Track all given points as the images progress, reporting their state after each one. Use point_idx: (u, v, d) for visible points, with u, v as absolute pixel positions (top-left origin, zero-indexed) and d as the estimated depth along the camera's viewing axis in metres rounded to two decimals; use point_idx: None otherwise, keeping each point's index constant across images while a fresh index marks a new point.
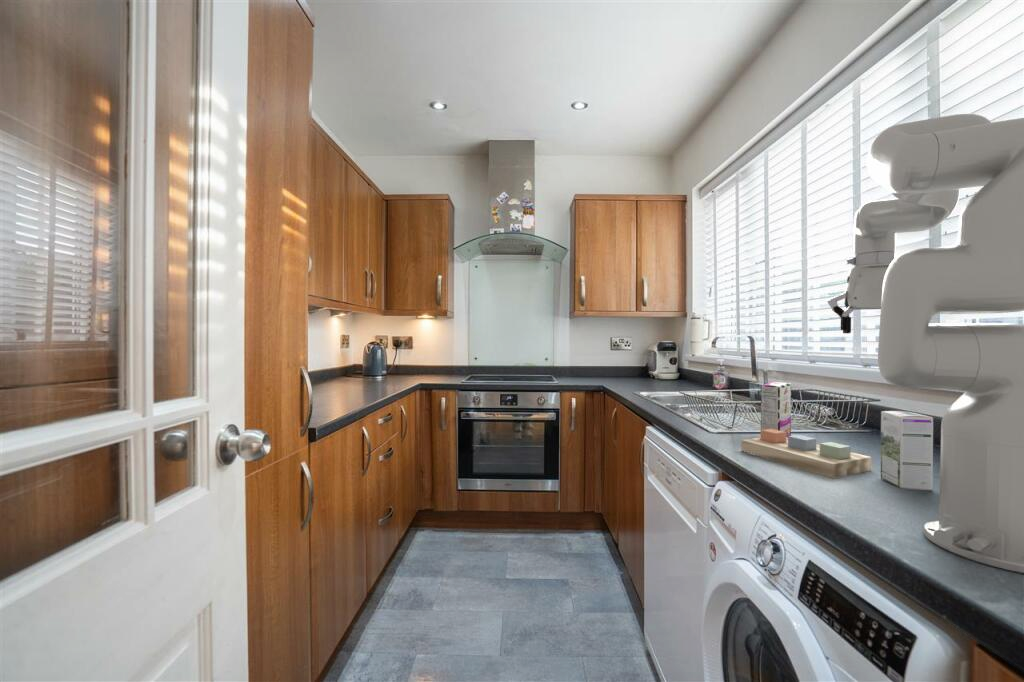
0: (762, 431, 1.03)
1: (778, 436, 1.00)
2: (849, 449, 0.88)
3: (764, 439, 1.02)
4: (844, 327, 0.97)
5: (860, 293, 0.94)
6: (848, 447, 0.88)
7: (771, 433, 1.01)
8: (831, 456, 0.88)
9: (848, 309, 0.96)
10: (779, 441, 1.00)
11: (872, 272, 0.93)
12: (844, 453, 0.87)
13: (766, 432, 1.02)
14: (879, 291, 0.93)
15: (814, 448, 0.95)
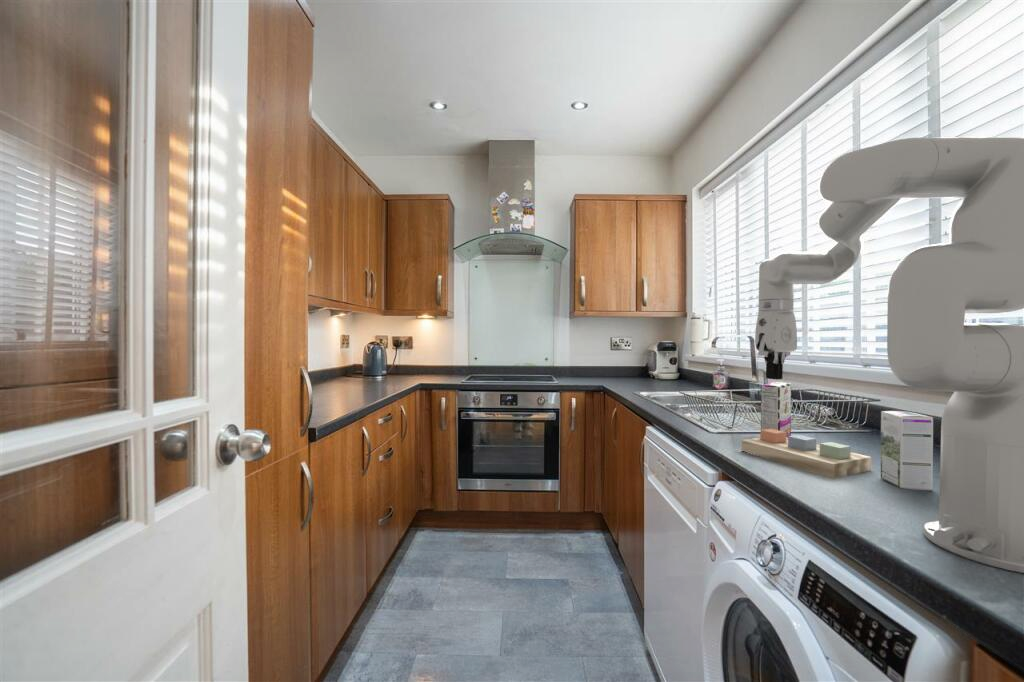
0: (762, 431, 1.03)
1: (778, 436, 1.00)
2: (849, 449, 0.88)
3: (764, 439, 1.02)
4: (774, 373, 1.01)
5: (777, 337, 0.98)
6: (848, 447, 0.88)
7: (771, 433, 1.01)
8: (831, 456, 0.88)
9: (775, 356, 1.00)
10: (779, 441, 1.00)
11: (783, 318, 0.99)
12: (844, 453, 0.87)
13: (766, 432, 1.02)
14: (786, 336, 1.00)
15: (814, 448, 0.95)
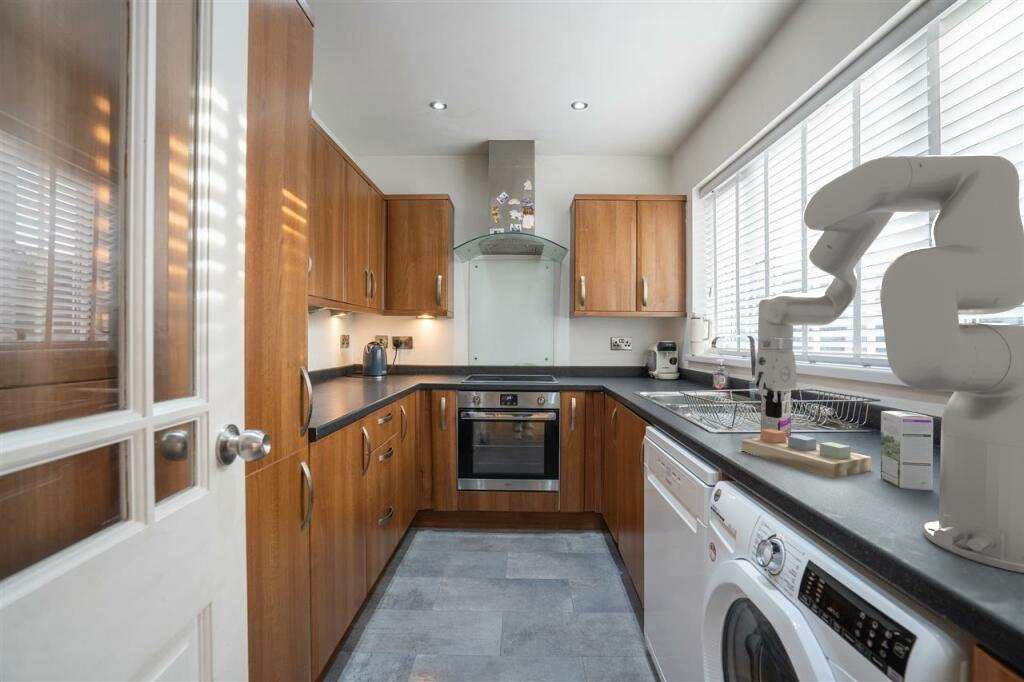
0: (762, 431, 1.03)
1: (778, 436, 1.00)
2: (849, 449, 0.88)
3: (764, 439, 1.02)
4: (773, 412, 1.01)
5: (776, 377, 0.98)
6: (848, 447, 0.88)
7: (771, 433, 1.01)
8: (831, 456, 0.88)
9: (774, 395, 1.00)
10: (779, 441, 1.00)
11: (782, 357, 0.99)
12: (844, 453, 0.87)
13: (766, 432, 1.02)
14: (786, 375, 1.00)
15: (814, 448, 0.95)
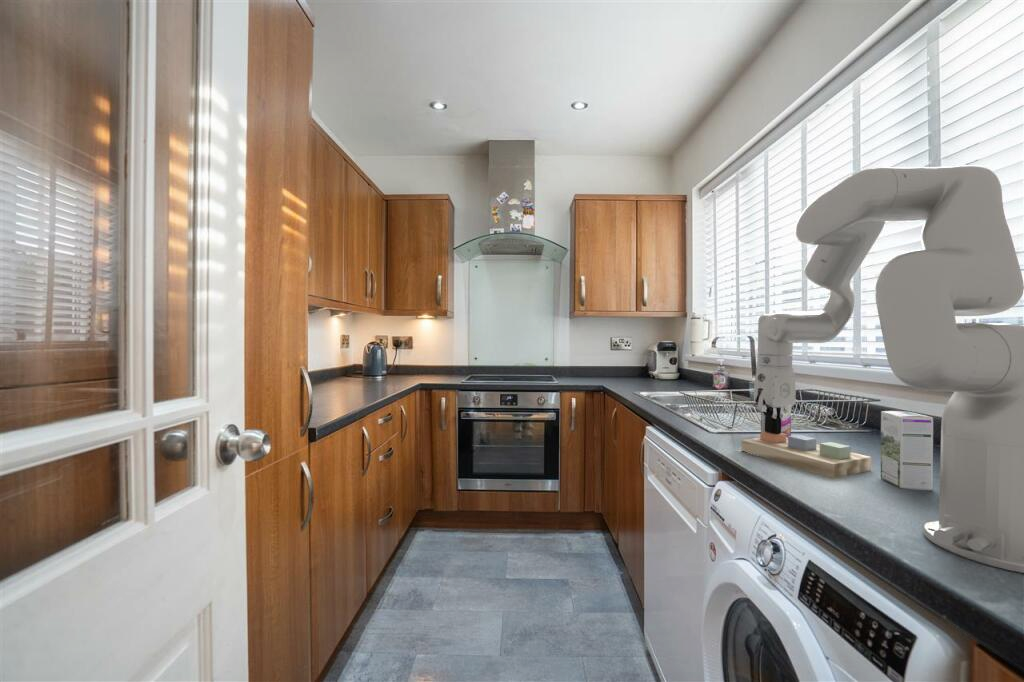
0: (762, 433, 1.03)
1: (778, 438, 1.00)
2: (849, 449, 0.88)
3: None
4: (773, 428, 1.01)
5: (776, 393, 0.99)
6: (848, 447, 0.88)
7: (771, 435, 1.01)
8: (831, 456, 0.88)
9: (774, 411, 1.00)
10: None
11: (782, 373, 0.99)
12: (844, 453, 0.87)
13: (766, 434, 1.02)
14: (785, 391, 1.00)
15: (814, 448, 0.95)
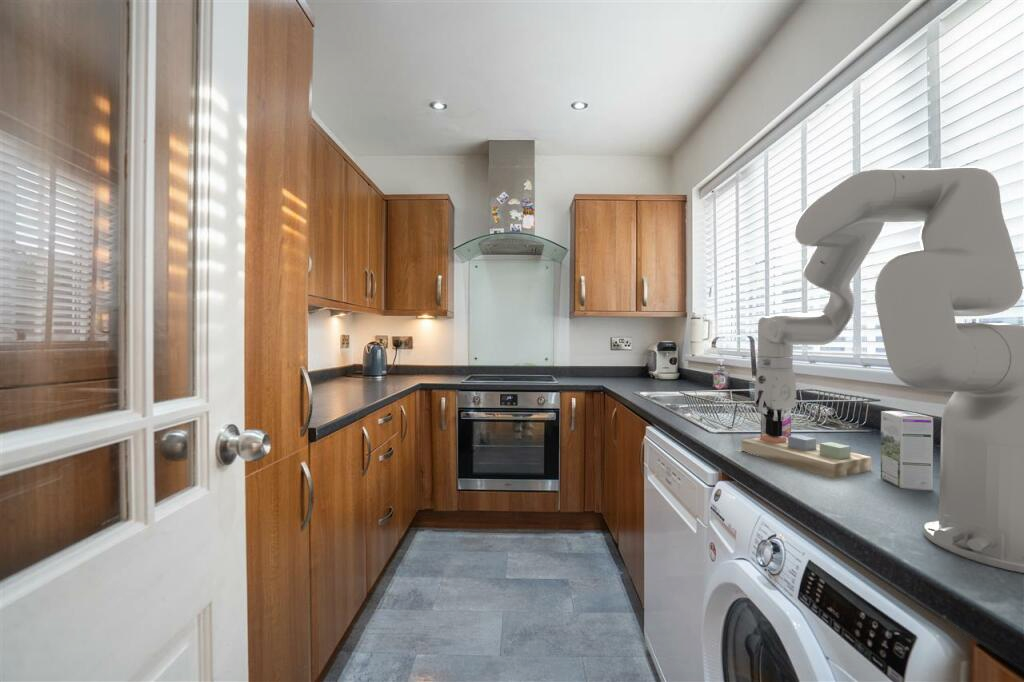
0: (762, 436, 1.03)
1: (778, 441, 1.00)
2: (849, 449, 0.88)
3: None
4: (773, 430, 1.01)
5: (776, 395, 0.98)
6: (848, 447, 0.88)
7: (771, 438, 1.01)
8: (831, 456, 0.88)
9: (774, 414, 1.00)
10: None
11: (782, 376, 0.99)
12: (844, 453, 0.87)
13: (766, 437, 1.02)
14: (786, 393, 1.00)
15: (814, 448, 0.95)
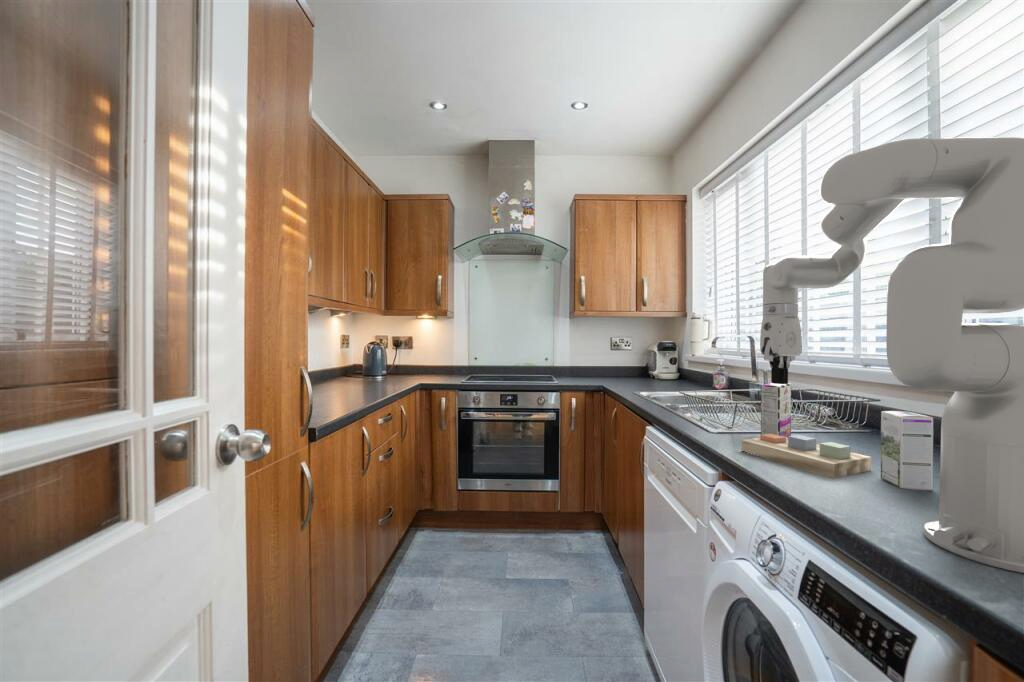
0: (762, 436, 1.03)
1: (778, 441, 1.00)
2: (849, 449, 0.88)
3: None
4: (779, 378, 1.00)
5: (782, 341, 0.98)
6: (848, 447, 0.88)
7: (771, 438, 1.01)
8: (831, 456, 0.88)
9: (780, 361, 1.00)
10: None
11: (788, 322, 0.99)
12: (844, 453, 0.87)
13: (766, 437, 1.02)
14: (791, 340, 0.99)
15: (814, 448, 0.95)
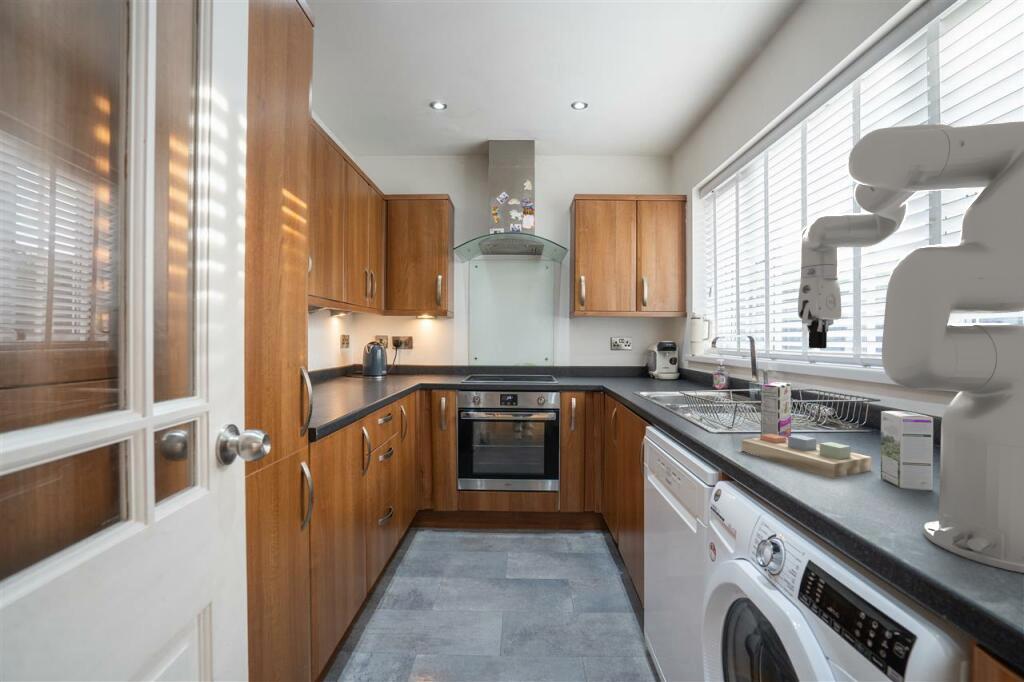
0: (762, 436, 1.03)
1: (778, 441, 1.00)
2: (849, 449, 0.88)
3: None
4: (818, 342, 0.98)
5: (822, 304, 0.95)
6: (848, 447, 0.88)
7: (771, 438, 1.01)
8: (831, 456, 0.88)
9: (819, 324, 0.97)
10: None
11: (828, 284, 0.96)
12: (844, 453, 0.87)
13: (766, 437, 1.02)
14: (831, 303, 0.97)
15: (814, 448, 0.95)
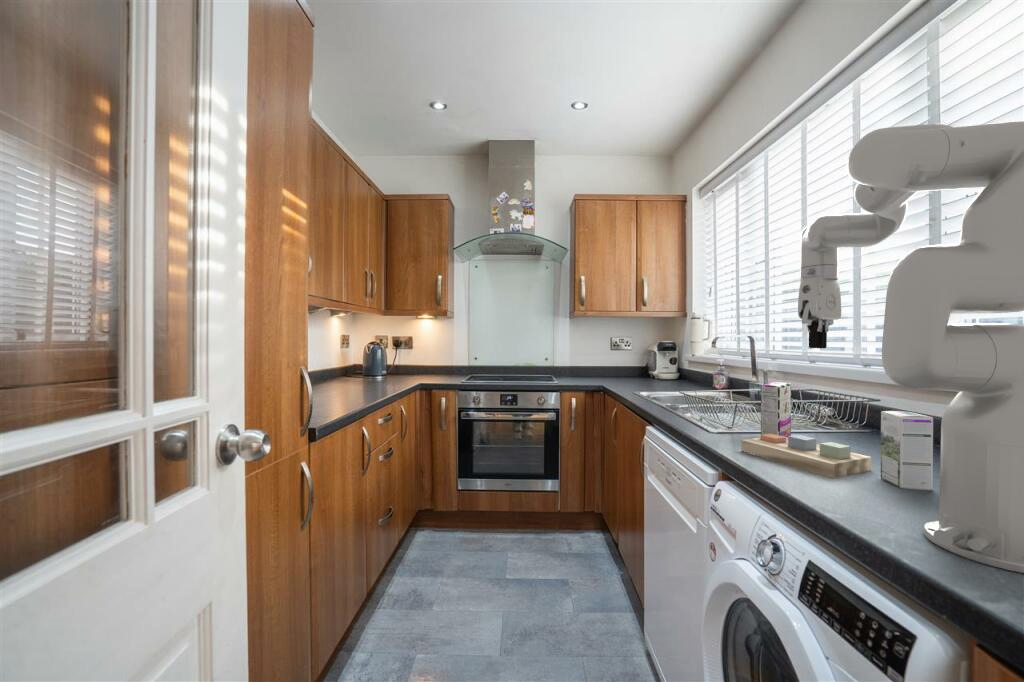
0: (762, 436, 1.03)
1: (778, 441, 1.00)
2: (849, 449, 0.88)
3: None
4: (818, 342, 0.98)
5: (822, 304, 0.95)
6: (848, 447, 0.88)
7: (771, 438, 1.01)
8: (831, 456, 0.88)
9: (819, 324, 0.97)
10: None
11: (828, 284, 0.96)
12: (844, 453, 0.87)
13: (766, 437, 1.02)
14: (831, 303, 0.97)
15: (814, 448, 0.95)
